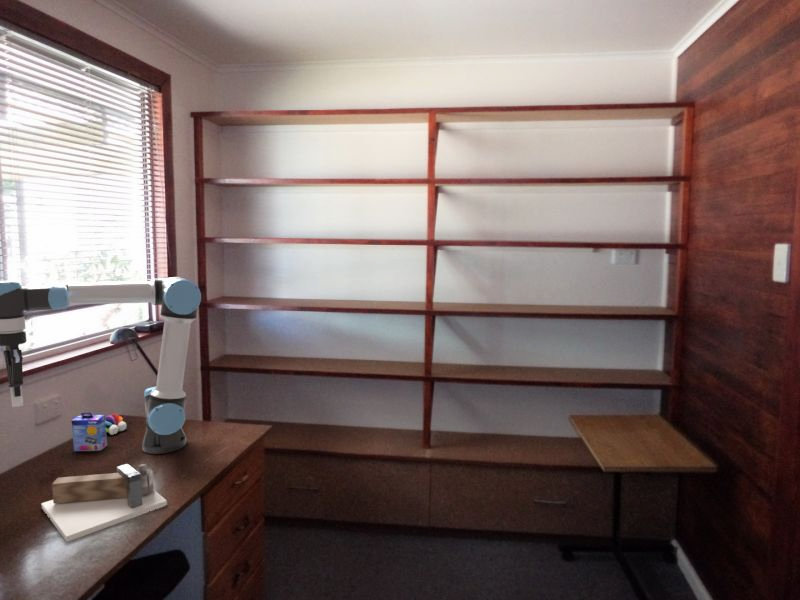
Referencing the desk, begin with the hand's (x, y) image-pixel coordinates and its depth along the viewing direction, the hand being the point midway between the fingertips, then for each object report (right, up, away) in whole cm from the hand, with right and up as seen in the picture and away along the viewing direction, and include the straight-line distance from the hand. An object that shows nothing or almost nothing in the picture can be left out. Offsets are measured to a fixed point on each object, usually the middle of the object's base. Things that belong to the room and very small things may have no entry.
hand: (17, 405), depth 167 cm
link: (+31, -25, -7) cm, 41 cm away
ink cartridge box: (+4, -23, +33) cm, 40 cm away
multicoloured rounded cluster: (+3, -21, +50) cm, 54 cm away
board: (+33, -28, -10) cm, 44 cm away
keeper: (+40, -28, -9) cm, 49 cm away
